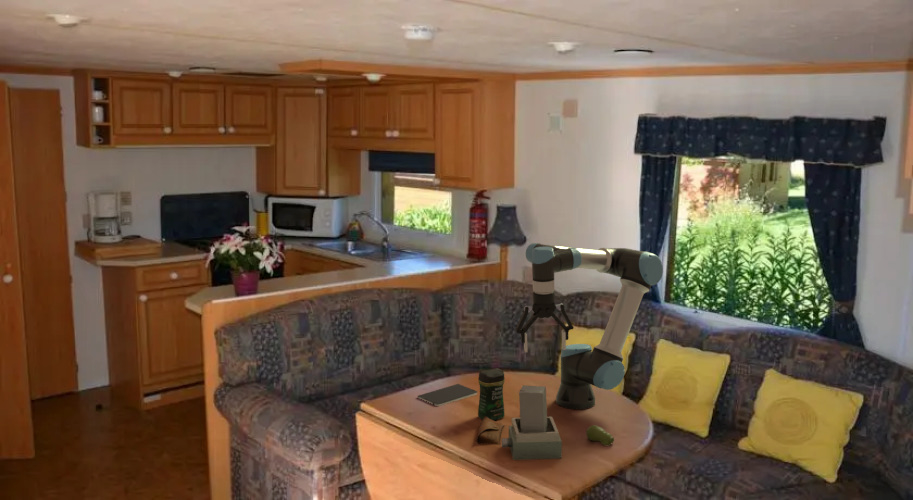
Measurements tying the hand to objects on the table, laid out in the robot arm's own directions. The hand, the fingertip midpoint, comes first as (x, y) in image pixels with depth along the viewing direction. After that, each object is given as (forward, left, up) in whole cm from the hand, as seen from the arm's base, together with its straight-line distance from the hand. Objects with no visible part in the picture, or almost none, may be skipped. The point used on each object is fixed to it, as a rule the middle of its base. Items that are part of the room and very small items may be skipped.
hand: (544, 350), depth 285 cm
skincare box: (+6, +17, -24) cm, 30 cm away
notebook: (+33, -37, -31) cm, 58 cm away
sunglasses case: (+19, +2, -30) cm, 36 cm away
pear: (-18, +12, -30) cm, 37 cm away
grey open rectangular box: (+7, +17, -30) cm, 35 cm away
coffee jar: (+18, -13, -30) cm, 37 cm away
